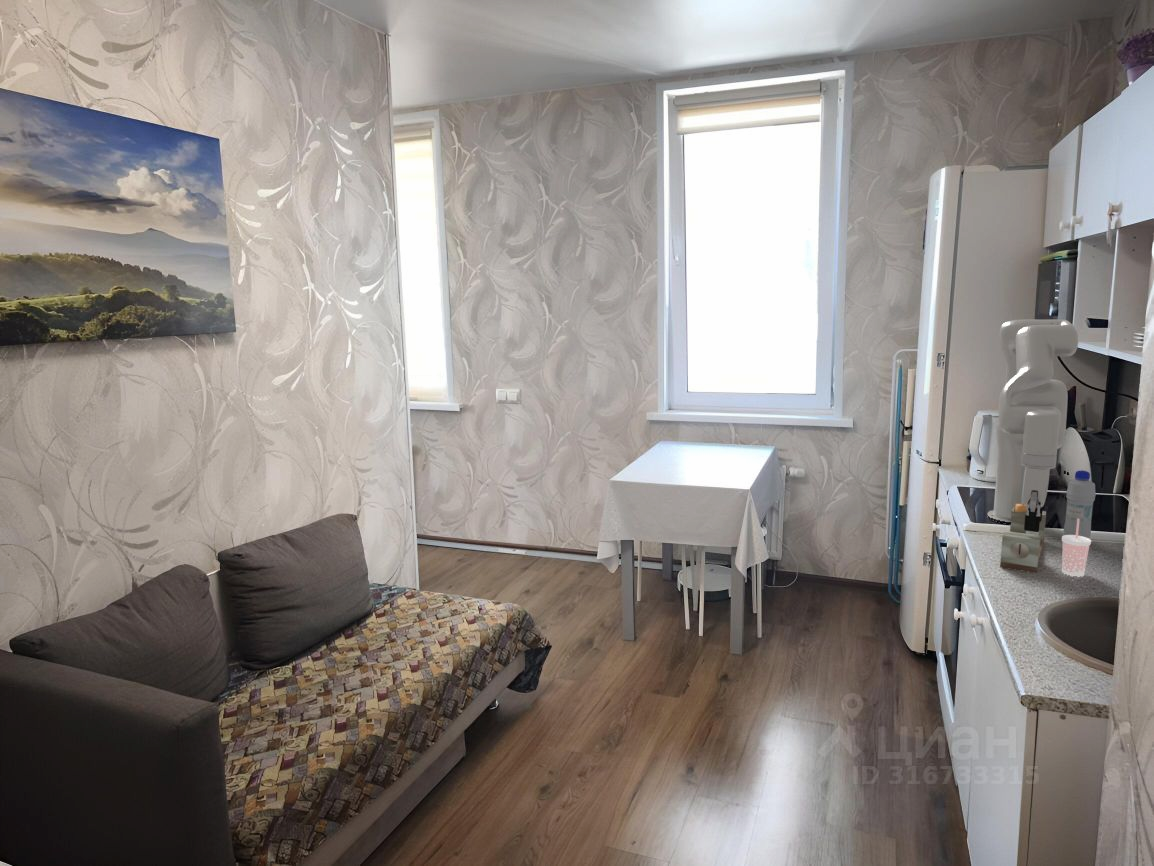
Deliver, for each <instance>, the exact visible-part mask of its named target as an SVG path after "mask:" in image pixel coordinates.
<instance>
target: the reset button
mask: <svg viewBox="0 0 1154 866" xmlns="http://www.w3.org/2000/svg"><path fill="white" fill-rule="evenodd" d="M1026 506H1027V505H1025V504H1024V506H1023V505H1022V504H1016V507H1015V511H1018V512H1026Z"/></svg>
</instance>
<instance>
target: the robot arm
mask: <svg viewBox="0 0 1154 866" xmlns="http://www.w3.org/2000/svg"><path fill="white" fill-rule="evenodd" d="M999 344H1000V347H1001V351H1002V354H1003V355H1004V356H1003V357H1004V359H1005V367H1006V368H1005V379H1004V380H1005V381H1004V386H1003V388H1002V390H1001V391H1000V393H999V398H998V422H997V424H996V440H997V463H996V476H995V478H996V479H995V486H994V487H995V490H994V502H993V509H992V510H989V511H988V512H987V515H988V516H989V517H990V518H993V519H996V520H1000V521H1005V522H1011V514H1012V509H1013V508H1015V507H1016V504H1022V505H1023V506H1024V504H1025V505H1027V506H1026V509H1027V512H1026V514H1025V524H1024V530H1025V531H1032V532H1039V525H1040V522H1041V520H1042V511H1044V510H1043V509H1044V505H1045V503H1046V500H1047V499H1046V498H1047V495H1048V489H1049V483H1050V482H1049V481H1050V471H1051V470H1052V469H1056V468H1057V460H1058V459H1057V457H1058V450H1059V449H1060V448H1062V446H1063V445H1064V443H1065V439H1066V429H1067V414H1068V398H1069V397H1068V389H1067V386H1066V384H1065V383H1064V381H1062V380H1059V379H1053V377H1054V374H1055V373H1054V362H1053V359H1054V358H1053V357H1071V356H1073V355H1074V354H1076V351H1077V350H1078V346H1079V335H1078V332H1077V328H1076V327H1075V325H1074V324H1072V323H1071V322H1070V321H1069V320H1067V319H1027V318H1026V319H1014V320H1008V321H1006V322H1004V323H1002V325H1001V326H1000V329H999ZM1039 513H1040V516H1039ZM988 516H987V517H988Z"/></svg>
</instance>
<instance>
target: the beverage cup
mask: <svg viewBox="0 0 1154 866" xmlns="http://www.w3.org/2000/svg"><path fill="white" fill-rule="evenodd" d="M1079 521H1080V519H1077V527H1076V535H1064V534H1063V535H1062V536H1061V542H1062V555H1061V557H1062V561H1061V565H1062V566H1061V573H1062V572H1063V573H1064V574H1063V573H1062V574H1063V575H1065V574H1067V575H1066V576H1068V575H1070V576H1069V577H1073V576H1077V577H1076V578H1082V577H1084V576H1085V572H1086V567H1087V561H1088V555H1089V549H1090V546H1091V544H1092V540H1091V538H1087V537H1083V536H1078V530H1079ZM1080 576H1081V577H1080Z"/></svg>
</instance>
